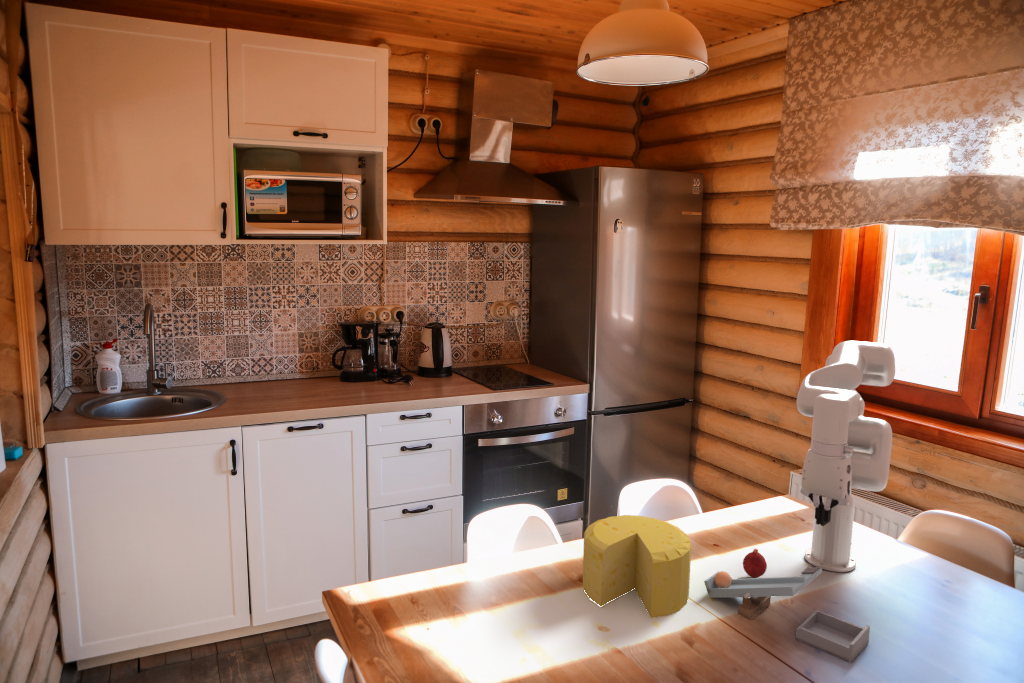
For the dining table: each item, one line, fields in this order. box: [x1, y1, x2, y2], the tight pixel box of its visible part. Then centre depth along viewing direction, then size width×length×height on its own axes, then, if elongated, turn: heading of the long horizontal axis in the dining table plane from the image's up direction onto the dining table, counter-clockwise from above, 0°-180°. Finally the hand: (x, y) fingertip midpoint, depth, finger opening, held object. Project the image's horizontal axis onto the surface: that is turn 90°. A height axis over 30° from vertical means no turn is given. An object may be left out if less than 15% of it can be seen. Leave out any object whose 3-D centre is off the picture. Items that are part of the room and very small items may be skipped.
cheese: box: [582, 514, 692, 619], centre depth 168 cm, size 26×26×15 cm
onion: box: [742, 548, 768, 578], centre depth 175 cm, size 6×6×8 cm
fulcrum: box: [737, 597, 772, 621], centre depth 160 cm, size 10×3×4 cm, turn 134°
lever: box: [703, 566, 823, 599], centre depth 163 cm, size 18×22×4 cm
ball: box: [715, 570, 732, 588], centre depth 166 cm, size 4×4×4 cm
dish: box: [795, 610, 871, 664], centre depth 148 cm, size 10×12×4 cm
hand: (822, 523), depth 159 cm, fingers closed
